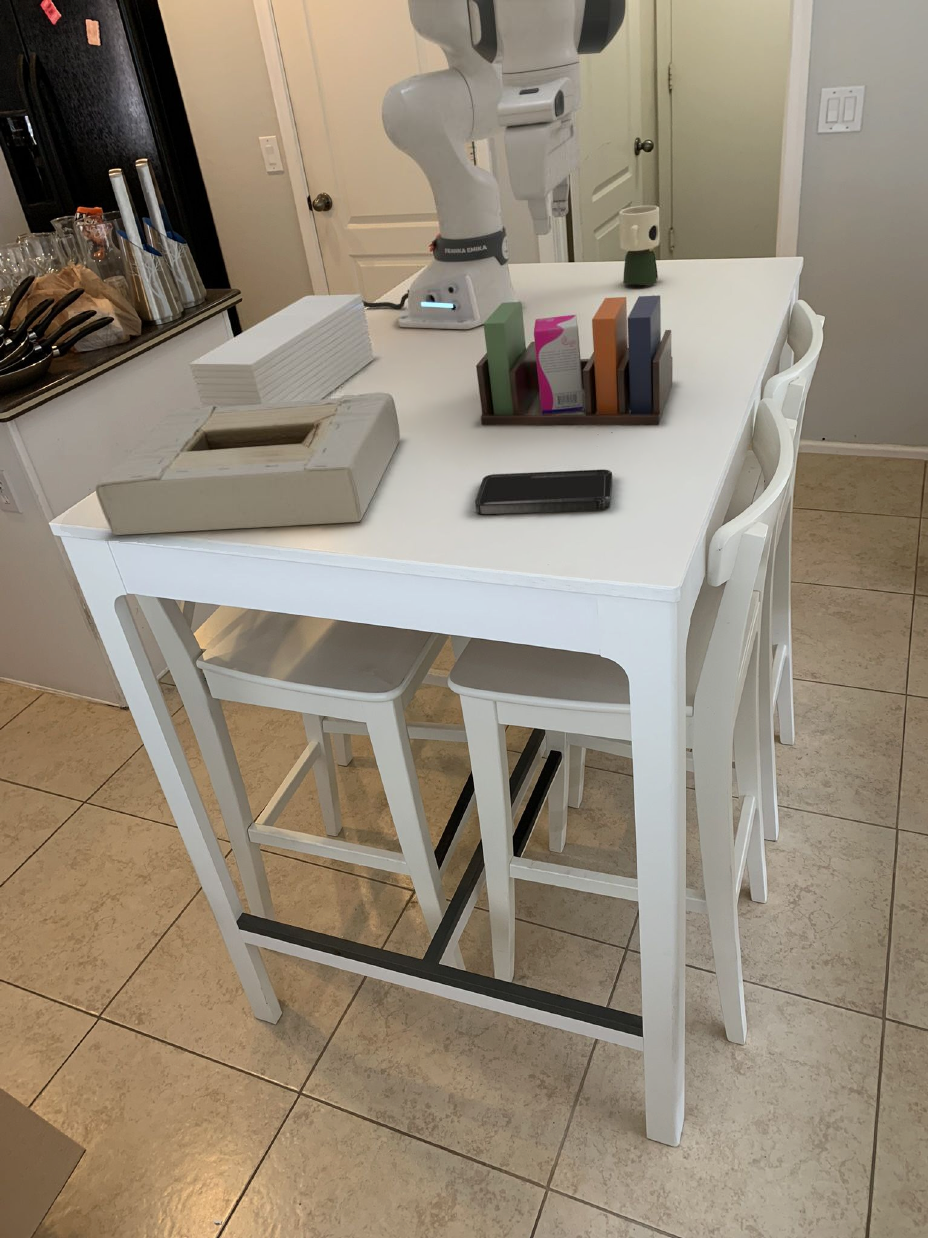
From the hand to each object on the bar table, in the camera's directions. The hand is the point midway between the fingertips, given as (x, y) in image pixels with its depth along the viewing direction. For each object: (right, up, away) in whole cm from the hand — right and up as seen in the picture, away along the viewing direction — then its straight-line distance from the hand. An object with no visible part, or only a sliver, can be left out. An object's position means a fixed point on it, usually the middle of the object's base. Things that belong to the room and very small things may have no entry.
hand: (552, 224), depth 112 cm
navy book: (+14, -20, +9) cm, 26 cm away
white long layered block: (-37, -13, +31) cm, 50 cm away
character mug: (+22, +13, +57) cm, 63 cm away
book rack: (+5, -19, +12) cm, 23 cm away
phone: (-2, -35, -9) cm, 36 cm away
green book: (-4, -19, +15) cm, 25 cm away
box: (-36, -32, +4) cm, 49 cm away
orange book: (+9, -20, +11) cm, 24 cm away
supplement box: (+3, -19, +13) cm, 24 cm away
